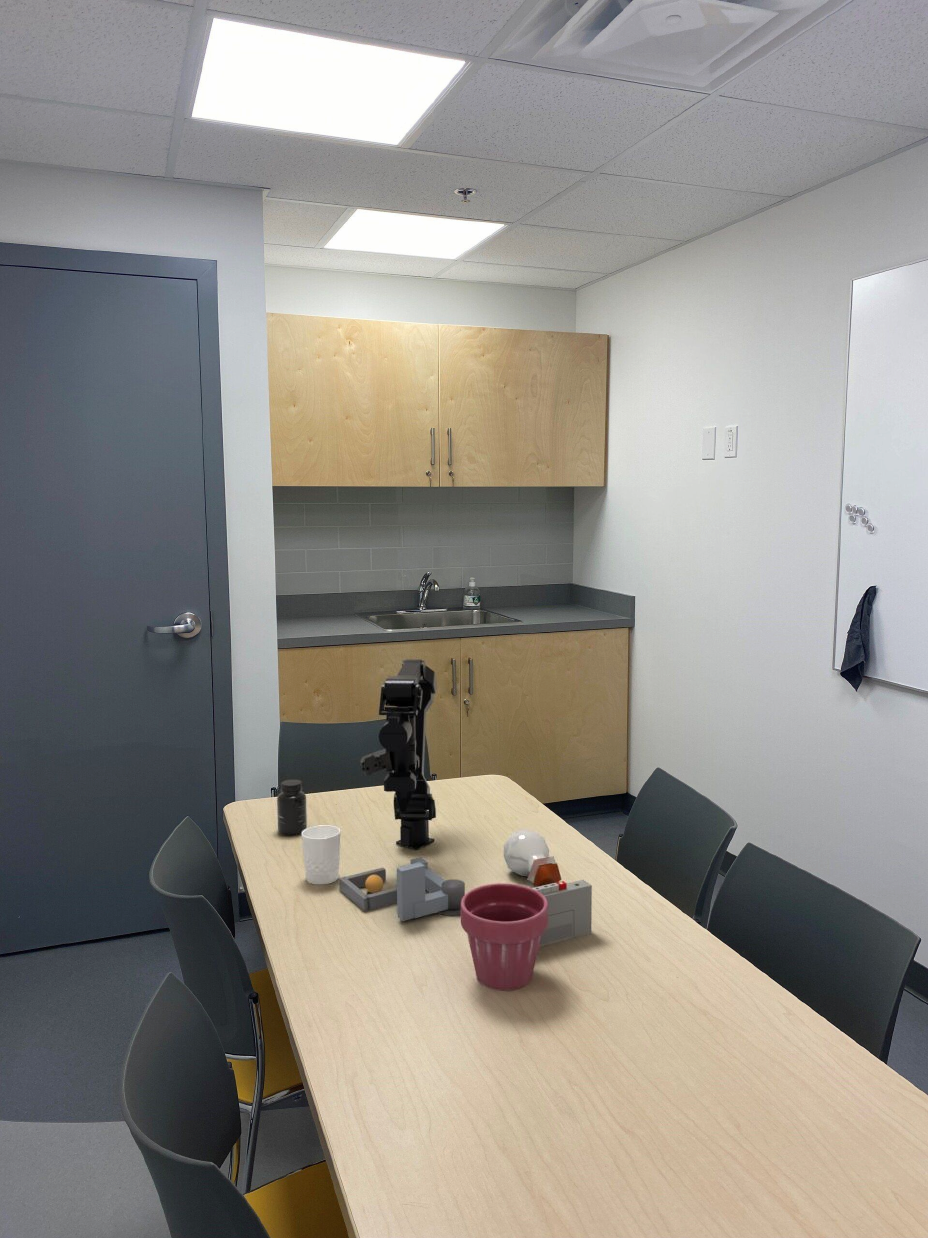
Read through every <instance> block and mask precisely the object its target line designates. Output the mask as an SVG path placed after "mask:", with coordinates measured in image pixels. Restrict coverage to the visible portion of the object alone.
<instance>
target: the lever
mask: <svg viewBox="0 0 928 1238" xmlns="http://www.w3.org/2000/svg"><path fill="white" fill-rule="evenodd" d="M409 860H410V863H409V864H406V865H402V866H398V867H396V887H397V903H396V904H397V907H396V908H397V911H396V912H397V913H396V914H397V918H398V919H400V920H401V921H402V922H405V921H407V920H411V919H417V918H421V917H424V916H428V915H432V914H434V913H435V914H436V913H438V912H439V911H443V910H446V909H460V908H461V900H462V898H463V896H464V895H465V894H466V887H465V882H464V881H463V880H460V879H445V878H443V877H442V876H440V875H439V874H438V873H436V872H435V871H433V870H432V869H430V868H429V862H428V861H427V860H426V859H425V858H422V857H421V856H420V857H416V858H412V859H409ZM426 892H428V893H426Z"/></svg>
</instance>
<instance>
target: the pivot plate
mask: <svg viewBox="0 0 928 1238" xmlns="http://www.w3.org/2000/svg"><path fill="white" fill-rule="evenodd" d="M437 913H438V914H440V915H443V916H447V917H459V916H460V917H461V908H460V909H446V910H443V911H439V912H437Z"/></svg>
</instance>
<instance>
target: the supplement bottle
mask: <svg viewBox="0 0 928 1238" xmlns="http://www.w3.org/2000/svg"><path fill="white" fill-rule="evenodd" d="M302 790H303V786H302V780H300V779H287V780H284V781H282V782H280V793H279V794H278V795H277V798H276V807H277V808H276V810H277V812H276V813H277V832H278V833H279V834H280V835H282V836H286V837H293V836H294V837H295V836H296V837H297V836H300V835H302V831H303V830H305V829H307V828H308V819H307V818H308V814H307V811H308V810H307V809H308V808H307V796H306V794H305V792H304V791H302Z"/></svg>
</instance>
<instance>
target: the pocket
mask: <svg viewBox="0 0 928 1238" xmlns="http://www.w3.org/2000/svg"><path fill="white" fill-rule="evenodd" d="M386 873H387V871H386V868H384V867H380V868H375V869H371V870H367V871H362V872H358V873H355V874H352V875H351V874H350V875H347V876H343V877H339V878H338V880H339V881H338V884H339V885H338V886H339V888H338V889H339V891H340V892H341V893H342V894H343V895H344V896H346V897H347V898H348V899H349V900H351V902H353V903H354V904H355V905H356V906H358V908H360V909H361V910H362V911H363V912H368V911H371V910H375V909H379V908H383V907H386V906H389V905H393V904H397V886H396V887H393V888H390V889H389V888H388V889H385V890H382V891H381V890H380V891H379V892H377V893H370V894H369V893H368V894H366V893H365V892H364V891H363V890H362V889H361V888H364V887H365V888H366V886H365V882H366V880H367V878H368V877H369V876H371V875H378V876H380V877H381V879H382V881H383V883H385V882H386V881H387V874H386Z"/></svg>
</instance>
